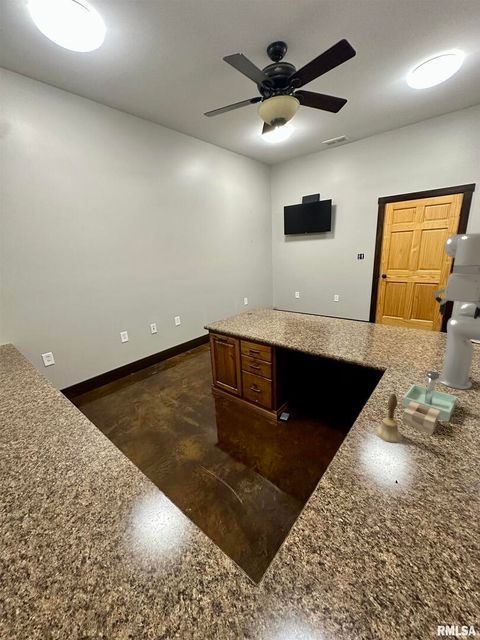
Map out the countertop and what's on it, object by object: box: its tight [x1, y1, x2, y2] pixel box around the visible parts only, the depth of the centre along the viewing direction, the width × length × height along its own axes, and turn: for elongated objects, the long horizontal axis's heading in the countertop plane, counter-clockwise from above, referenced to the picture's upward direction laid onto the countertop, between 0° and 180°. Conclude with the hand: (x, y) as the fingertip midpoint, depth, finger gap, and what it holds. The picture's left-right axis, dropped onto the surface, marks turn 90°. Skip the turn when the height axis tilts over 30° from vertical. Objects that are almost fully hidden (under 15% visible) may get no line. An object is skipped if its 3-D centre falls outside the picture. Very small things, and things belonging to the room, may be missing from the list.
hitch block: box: [401, 401, 440, 435], centre depth 94 cm, size 9×9×5 cm
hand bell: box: [374, 393, 403, 444], centre depth 87 cm, size 8×8×16 cm
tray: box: [401, 383, 458, 423], centre depth 103 cm, size 14×15×4 cm
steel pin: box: [424, 370, 440, 405], centre depth 102 cm, size 4×4×13 cm
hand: (458, 316), depth 96 cm, fingers open, 9 cm apart
